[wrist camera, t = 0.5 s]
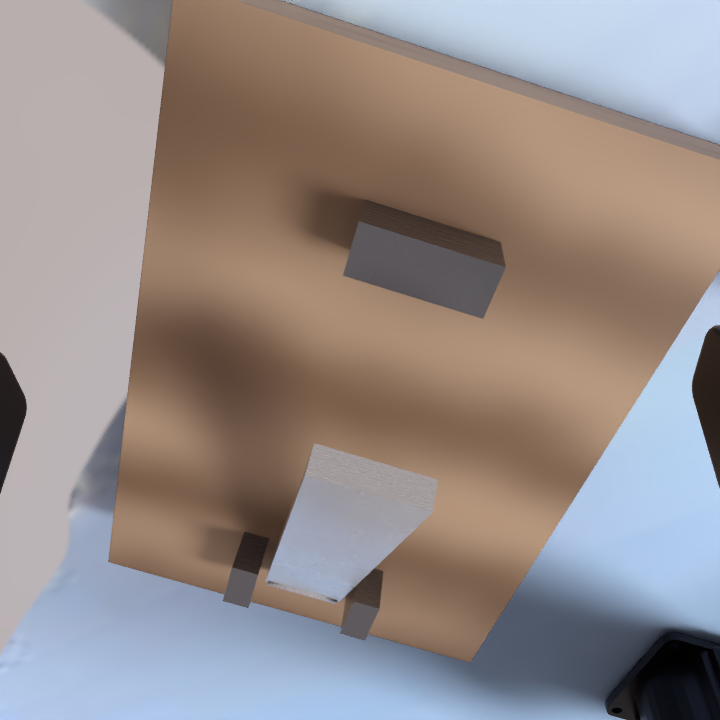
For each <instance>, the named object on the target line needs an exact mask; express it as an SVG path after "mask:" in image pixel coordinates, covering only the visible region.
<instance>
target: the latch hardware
mask: <svg viewBox="0 0 720 720" xmlns="http://www.w3.org/2000/svg"><path fill="white" fill-rule="evenodd" d="M505 268H506V265H505V260H504V255H503V250H502V245H501V242H499V241H496V240H493V239H490V238H486V237H483V236H480V235H477V234H474V233H471V232H467V231H464V230H461V229H458V228H455V227H452V226H448V225H445V224H442V223H439V222H436V221H432V220H429V219H426V218H423V217H420V216H417V215H413V214H410V213H407V212H404V211H401V210H398V209H394V208H391V207H388V206H385V205H382V204H379V203H375V202H372V201H369V200H366V201H365V204H364V207H363V210H362V213H361V216H360V219H359V223H358V226H357V229H356V233H355V236H354V239H353V243H352V246H351V250H350V253H349V256H348V260H347V263H346V266H345V270H344V273H343V276H345V277H349V278H352V279H355V280H358V281H362V282H365V283H368V284H371V285H375V286H378V287H381V288H384V289H388V290H391V291H394V292H397V293H401V294H404V295H407V296H410V297H414V298H417V299H420V300H423V301H427V302H430V303H433V304H436V305H440V306H443V307H446V308H449V309H453V310H456V311H459V312H462V313H465V314H469V315H472V316H475V317H478V318H482V319H483V318H484V316H485V314H486V311H487V309H488V307H489V304H490V302H491V300H492V298H493V295H494V293H495V291H496V289H497V286H498V284H499V282H500V280H501V277H502V275H503V273H504V270H505ZM268 540H269V538H266V537H262V536H258V535H255V534H251V533H248V532H244V534H243V537H242V540H241V543H240V546H239V549H238V552H237V554H236V557H235V560H234V563H233V566H232V569H231V573H230V577H229V581H228V584H227V588H226V592H225V595H224V599H223V601H225V602H229V603H232V604H236V605H240V606H243V607H247V608H248V607H249V604H250V600H251V597H252V594H253V590H254V587H255V584H256V580H257V577H258V574H259V570H260V567H261V564H262V560H263V557H264V554H265V550H266V547H267V544H268ZM382 580H383V571H382V570H378V569H375V568H374V569H373V570H372V571H371V572H370V573H369V574H368V575H367V576H366V577H365V578H364V579H362V580H361V581H360V582H359V583H358V584H357V585H356V586H355V587H354V588H353V589H352V590H351V591H350V592H349V593H348V594H347V595H346V599H345V605H344V612H343V619H342V625H341V632H340V634H344V635H348V636H351V637H355V638H358V639H362V640H365V639H366V637H367V635H368V633H369V630H370V628H371V626H372V624H373V622H374V620H375V618H376V616H377V614H378V611H379V609H380V601H381V590H382Z"/></svg>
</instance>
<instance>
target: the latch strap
mask: <svg viewBox="0 0 720 720" xmlns="http://www.w3.org/2000/svg"><path fill="white" fill-rule="evenodd" d="M437 485H438V479H434V478H431V477H428V476H424V475H421V474H417V473H414V472H411V471H407V470H404V469H400V468H397V467H393V466H390V465H387V464H383V463H380V462H376V461H373V460H370V459H366V458H363V457H359V456H356V455H353V454H349V453H346V452H342V451H339V450H335V449H332V448H329V447H325V446H322V445H318V444H315V443H314V445H313V448H312V451H311V453H310V456H309V459H308V462H307V464H306V467H305V470H304V473H303V475H302V478H301V481H300V484H299V487H298V489H297V492H296V495H295V498H294V500H293V503H292V506H291V509H290V511H289V514H288V517H287V520H286V522H285V525H284V528H283V531H282V533H281V536H280V539H279V542H278V544H277V547H276V550H275V553H274V556H273V558H272V561H271V564H270V568H269V571H268V575H267V578H266V581H265V582H268V583H267V585H269V586H273V587H276V588H280V589H283V590H287V591H290V592H294V593H298V594H301V595H305V596H308V597H312V598H315V599H319V600H323V601H326V602H330V603H333V604H336V603H337V602H339V601H340V600H342V599H343V598H344V597H345V596H346V595H347V594H348V593H349V592H350V591H351V590H352V589H353V588H354V587H355V586H356V585H357V584H358V583H359V582H360V581H361V580H362V579H364V578H365V577H366V576H367V575H368V574H369V573H370V572H371V571H372V570H373V569H374V568H375V567H376V566H377V565H378V564H379V563H380V562H381V561H382V560H383V559H385V558H386V557H387V556H388V555H389V554H390V553H391V552H392V551H393V550H394V549H395V548H396V547H397V546H398V545H399V544H400V543H401V542H402V541H403V540H404V539H405V538H407V537H408V536H409V535H410V534H411V533H412V532H413V531H414V530H415V529H416V528H417V527H418V526H419V525H420V524H421V523H422V522H423V521H424V520H425V519H426V518H428V517H429V516H430V515H431V514H432V513H433V508H434V502H435V497H436V491H437Z"/></svg>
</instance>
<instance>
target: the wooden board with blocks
mask: <svg viewBox="0 0 720 720" xmlns="http://www.w3.org/2000/svg"><path fill="white" fill-rule="evenodd" d="M366 200H369V201H372V202H375V203H379V204H382V205H385V206H388V207H391V208H394V209H398V210H401V211H404V212H407V213H410V214H413V215H417V216H420V217H423V218H426V219H429V220H432V221H436V222H439V223H442V224H445V225H448V226H452V227H455V228H458V229H461V230H464V231H467V232H471V233H474V234H477V235H480V236H483V237H486V238H490V239H493V240H496V241H499V242H501V245H502V250H503V255H504V260H505V265H506V268H505V270H504V273H503V275H502V277H501V280H500V282H499V284H498V286H497V289H496V291H495V293H494V295H493V298H492V300H491V302H490V304H489V307H488V309H487V311H486V314H485V316H484V318H483V319H482V318H478V317H475V316H472V315H469V314H465V313H462V312H459V311H456V310H453V309H449V308H446V307H443V306H440V305H436V304H433V303H430V302H427V301H423V300H420V299H417V298H414V297H410V296H407V295H404V294H401V293H397V292H394V291H391V290H388V289H384V288H381V287H378V286H375V285H371V284H368V283H365V282H362V281H358V280H355V279H352V278H349V277H345V276H343V273H344V270H345V266H346V263H347V260H348V256H349V253H350V250H351V246H352V243H353V239H354V236H355V233H356V229H357V226H358V223H359V219H360V216H361V213H362V210H363V207H364V204H365V201H366ZM719 269H720V145H717V144H714V143H711V142H708V141H705V140H702V139H699V138H696V137H693V136H690V135H687V134H684V133H681V132H678V131H675V130H672V129H669V128H666V127H663V126H660V125H657V124H654V123H651V122H648V121H644V120H641V119H638V118H635V117H632V116H629V115H626V114H623V113H620V112H617V111H614V110H611V109H608V108H605V107H602V106H599V105H596V104H593V103H590V102H587V101H584V100H581V99H578V98H575V97H572V96H569V95H566V94H563V93H560V92H557V91H554V90H550V89H547V88H544V87H541V86H538V85H535V84H532V83H529V82H526V81H523V80H520V79H517V78H514V77H511V76H508V75H505V74H502V73H499V72H496V71H493V70H490V69H487V68H484V67H481V66H478V65H475V64H472V63H469V62H466V61H463V60H460V59H457V58H453V57H450V56H447V55H444V54H441V53H438V52H435V51H432V50H429V49H426V48H423V47H420V46H417V45H414V44H411V43H408V42H405V41H402V40H399V39H396V38H393V37H390V36H387V35H384V34H381V33H378V32H375V31H372V30H369V29H366V28H363V27H360V26H356V25H353V24H350V23H347V22H344V21H341V20H338V19H335V18H332V17H329V16H326V15H323V14H320V13H317V12H314V11H311V10H308V9H305V8H302V7H299V6H296V5H293V4H290V3H287V2H284V1H281V0H173V2H172V11H171V19H170V28H169V37H168V46H167V54H166V63H165V72H164V81H163V89H162V98H161V107H160V115H159V124H158V133H157V142H156V150H155V160H154V168H153V177H152V186H151V194H150V203H149V212H148V220H147V229H146V238H145V246H144V255H143V264H142V273H141V282H140V290H139V299H138V308H137V316H136V325H135V334H134V343H133V352H132V360H131V369H130V377H129V387H128V395H127V404H126V412H125V421H124V430H123V439H122V447H121V456H120V465H119V473H118V482H117V491H116V500H115V508H114V517H113V526H112V535H111V543H110V552H109V561H108V562H111V563H114V564H118V565H121V566H125V567H129V568H132V569H136V570H139V571H143V572H147V573H150V574H154V575H157V576H161V577H165V578H168V579H172V580H175V581H179V582H182V583H186V584H190V585H193V586H197V587H200V588H204V589H208V590H211V591H215V592H218V593H222V594H225V592H226V588H227V584H228V581H229V577H230V573H231V569H232V566H233V563H234V560H235V557H236V554H237V552H238V549H239V546H240V543H241V540H242V537H243V534H244V532H248V533H251V534H255V535H258V536H262V537H266V538H269V540H268V544H267V547H266V550H265V554H264V557H263V560H262V564H261V567H260V570H259V574H258V577H257V580H256V584H255V587H254V590H253V594H252V597H251V600H250V601H251V602H254V603H258V604H262V605H265V606H269V607H272V608H276V609H280V610H283V611H287V612H290V613H294V614H298V615H301V616H305V617H308V618H312V619H316V620H319V621H323V622H326V623H330V624H333V625H337V626H341V625H342V619H343V612H344V605H345V599H346V596H345V597H344V598H343V599H342V600H340V601H339V602H337V603H336V604H333V603H330V602H326V601H323V600H319V599H315V598H312V597H308V596H305V595H301V594H298V593H294V592H290V591H287V590H283V589H280V588H276V587H273V586H269V585H267V583H268V582H265V581H266V578H267V575H268V571H269V568H270V564H271V561H272V558H273V556H274V553H275V550H276V547H277V544H278V542H279V539H280V536H281V533H282V531H283V528H284V525H285V522H286V520H287V517H288V514H289V511H290V509H291V506H292V503H293V500H294V498H295V495H296V492H297V489H298V487H299V484H300V481H301V478H302V475H303V473H304V470H305V467H306V464H307V462H308V459H309V456H310V453H311V451H312V448H313V445H314V443H315V444H318V445H322V446H325V447H329V448H332V449H335V450H339V451H342V452H346V453H349V454H353V455H356V456H359V457H363V458H366V459H370V460H373V461H376V462H380V463H383V464H387V465H390V466H393V467H397V468H400V469H404V470H407V471H411V472H414V473H417V474H421V475H424V476H428V477H431V478H434V479H438V485H437V491H436V497H435V502H434V508H433V513H432V514H431V515H430V516H429V517H428V518H426V519H425V520H424V521H423V522H422V523H421V524H420V525H419V526H418V527H417V528H416V529H415V530H414V531H413V532H412V533H411V534H410V535H409V536H408V537H407V538H405V539H404V540H403V541H402V542H401V543H400V544H399V545H398V546H397V547H396V548H395V549H394V550H393V551H392V552H391V553H390V554H389V555H388V556H387V557H386V558H385V559H383V560H382V561H381V562H380V563H379V564H378V565H377V566H376V567H375V569H378V570H382V571H383V580H382V590H381V601H380V609H379V611H378V614H377V616H376V618H375V620H374V622H373V624H372V626H371V628H370V630H369V633H368V634H369V635H373V636H377V637H380V638H384V639H387V640H391V641H395V642H398V643H402V644H405V645H409V646H413V647H416V648H420V649H423V650H427V651H431V652H434V653H438V654H441V655H445V656H449V657H452V658H456V659H459V660H463V661H466V662H471V661H472V659H473V657H474V656H475V654H476V653H477V651H478V649H479V648H480V646H481V645H482V643H483V642H484V640H485V638H486V637H487V635H488V634H489V632H490V631H491V629H492V627H493V626H494V624H495V623H496V621H497V620H498V618H499V616H500V615H501V613H502V612H503V610H504V608H505V607H506V605H507V604H508V602H509V601H510V599H511V597H512V596H513V594H514V593H515V591H516V590H517V588H518V586H519V585H520V583H521V582H522V580H523V579H524V577H525V575H526V574H527V572H528V571H529V569H530V568H531V566H532V564H533V563H534V561H535V560H536V558H537V556H538V555H539V553H540V552H541V550H542V549H543V547H544V545H545V544H546V542H547V541H548V539H549V538H550V536H551V534H552V533H553V531H554V530H555V528H556V527H557V525H558V523H559V522H560V520H561V519H562V517H563V515H564V514H565V512H566V511H567V509H568V508H569V506H570V504H571V503H572V501H573V500H574V498H575V497H576V495H577V493H578V492H579V490H580V489H581V487H582V486H583V484H584V482H585V481H586V479H587V478H588V476H589V474H590V473H591V471H592V470H593V468H594V467H595V465H596V463H597V462H598V460H599V459H600V457H601V456H602V454H603V452H604V451H605V449H606V448H607V446H608V445H609V443H610V441H611V440H612V438H613V437H614V435H615V433H616V432H617V430H618V429H619V427H620V426H621V424H622V422H623V421H624V419H625V418H626V416H627V415H628V413H629V411H630V410H631V408H632V407H633V405H634V404H635V402H636V400H637V399H638V397H639V396H640V394H641V392H642V391H643V389H644V388H645V386H646V385H647V383H648V381H649V380H650V378H651V377H652V375H653V374H654V372H655V370H656V369H657V367H658V366H659V364H660V363H661V361H662V359H663V358H664V356H665V355H666V353H667V351H668V350H669V348H670V347H671V345H672V344H673V342H674V340H675V339H676V337H677V336H678V334H679V333H680V331H681V329H682V328H683V326H684V325H685V323H686V322H687V320H688V318H689V317H690V315H691V314H692V312H693V310H694V309H695V307H696V306H697V304H698V303H699V301H700V299H701V298H702V296H703V295H704V293H705V292H706V290H707V288H708V287H709V285H710V284H711V282H712V281H713V279H714V277H715V276H716V274H717V273H718V271H719Z"/></svg>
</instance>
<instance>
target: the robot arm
mask: <svg viewBox="0 0 720 720" xmlns="http://www.w3.org/2000/svg"><path fill="white" fill-rule="evenodd" d="M692 393H693V398H694V402H695V406H696V409H697V412H698V416H699V419H700V423H701V426H702V430H703V433H704V436H705V440H706V443H707V447H708V450H709V454H710V457H711V461H712V464H713V467H714V471H715V474H716V478H717V481H718V485H719V488H720V325H717V326H714V327H712V328H711V329H709V331H708V332H707V334H706V336H705V339H704V342H703V346H702V349H701V353H700V356H699V359H698V363H697V366H696V369H695V373H694V376H693V381H692ZM26 409H27V405H26V399H25V396H24V393H23V391H22V390H21V387H20V385H19V383H18V381H17V379H16V377H15V375H14V374H13V371H12V369H11V367H10V365H9V363H8V361H7V359H6V358H5V356H4V355H3V354H2V353H0V493H1V490H2V487H3V483H4V480H5V478H6V474H7V471H8V468H9V465H10V462H11V459H12V456H13V453H14V450H15V447H16V444H17V441H18V438H19V435H20V432H21V428H22V425H23V422H24V419H25V416H26ZM605 706H606V710H607V713H608V714H609V715H612V716H615V717H618V718H622V719H626V720H720V645H719V644H716V643H712V642H709V641H705V640H702V639H698V638H695V637H691V636H688V635H684V634H681V633H677V632H668V633H666V634H664V635H662V636H661V637H660V639H659V640H658V641H657V642H656V643H655V644H654V645H653V647H652V648H651V649H650V650H649V651H648V652H647V654H646V655H645V656H644V657H643V658H642V659H641V660H640V662H639V663H638V664H637V665H636V666H635V667H634V669H633V670H632V671H631V672H630V673H629V674H628V675H627V677H626V678H625V679H624V680H623V681H622V682H621V683H620V685H619V686H618V687H617V688H616V689H615V690H614V692H613V693H612V694H611V695H610V696H609V697H608V698H607V700H606V701H605Z"/></svg>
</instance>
